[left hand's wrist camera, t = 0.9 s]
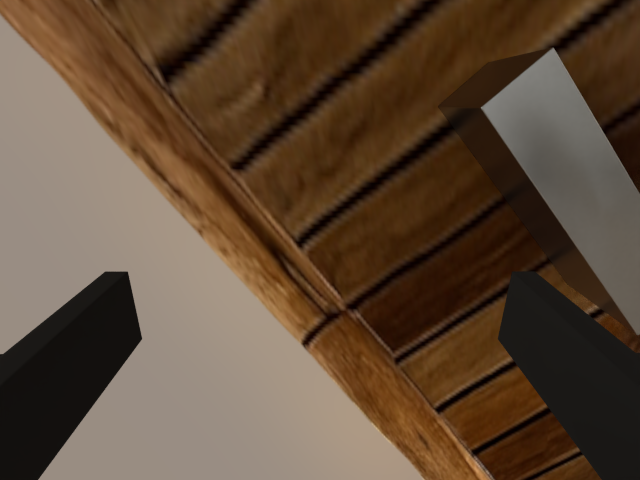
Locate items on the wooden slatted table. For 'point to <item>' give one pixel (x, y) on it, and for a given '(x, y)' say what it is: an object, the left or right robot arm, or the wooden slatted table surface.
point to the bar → (556, 174)
